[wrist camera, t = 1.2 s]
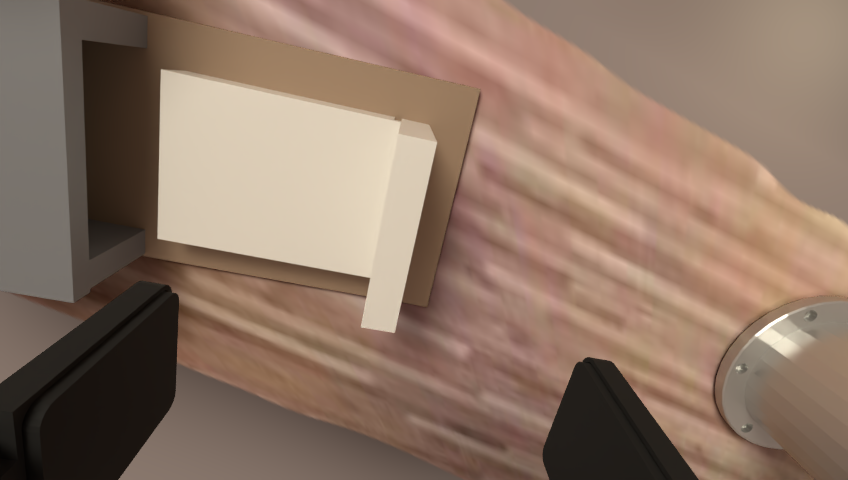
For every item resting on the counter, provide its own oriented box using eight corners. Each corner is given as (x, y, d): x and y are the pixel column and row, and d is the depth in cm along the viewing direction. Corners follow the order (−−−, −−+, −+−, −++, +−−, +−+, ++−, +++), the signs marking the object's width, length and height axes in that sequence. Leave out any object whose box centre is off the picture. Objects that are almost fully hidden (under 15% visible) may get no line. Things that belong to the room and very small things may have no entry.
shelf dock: (479, 88, 25) (502, 90, 19) (426, 303, 30) (431, 362, 23) (-1, -23, 23) (-158, -64, 16) (21, 230, 27) (-96, 274, 21)
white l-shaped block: (429, 124, 25) (437, 142, 18) (398, 266, 28) (394, 332, 21) (185, 70, 24) (82, 64, 16) (179, 225, 27) (89, 280, 19)
